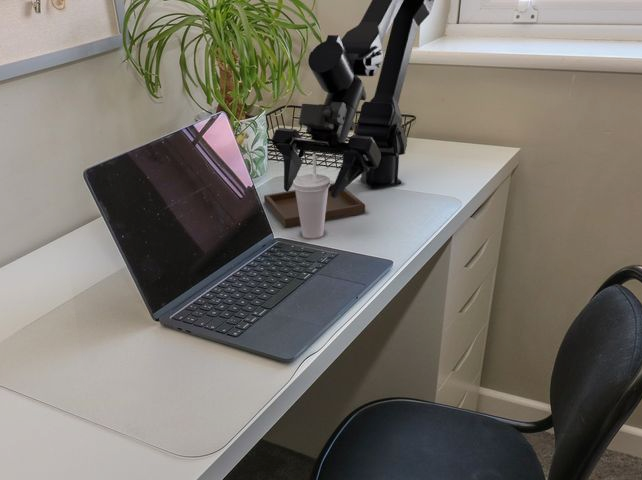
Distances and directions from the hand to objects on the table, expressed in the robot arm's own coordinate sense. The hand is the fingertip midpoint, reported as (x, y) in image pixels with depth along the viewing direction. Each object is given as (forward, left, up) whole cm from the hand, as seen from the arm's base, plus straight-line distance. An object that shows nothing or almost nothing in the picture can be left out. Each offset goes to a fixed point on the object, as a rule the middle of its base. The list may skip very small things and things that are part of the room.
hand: (308, 193), depth 117 cm
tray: (-5, -12, -8) cm, 15 cm away
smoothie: (-1, -1, -8) cm, 8 cm away
